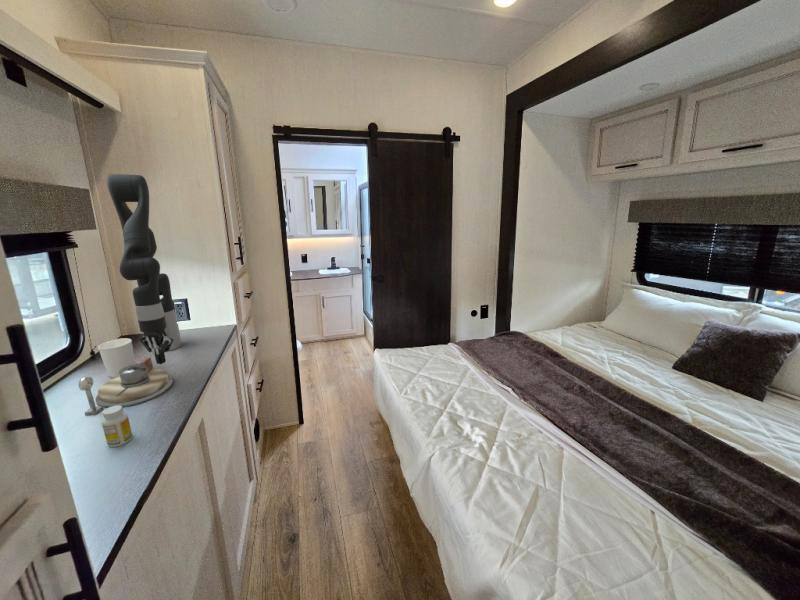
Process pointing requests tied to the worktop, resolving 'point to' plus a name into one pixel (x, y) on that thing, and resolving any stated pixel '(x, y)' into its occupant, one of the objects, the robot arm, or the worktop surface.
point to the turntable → (117, 394)
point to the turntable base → (137, 401)
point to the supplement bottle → (116, 426)
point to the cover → (133, 376)
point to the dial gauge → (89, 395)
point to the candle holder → (117, 355)
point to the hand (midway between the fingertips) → (161, 363)
